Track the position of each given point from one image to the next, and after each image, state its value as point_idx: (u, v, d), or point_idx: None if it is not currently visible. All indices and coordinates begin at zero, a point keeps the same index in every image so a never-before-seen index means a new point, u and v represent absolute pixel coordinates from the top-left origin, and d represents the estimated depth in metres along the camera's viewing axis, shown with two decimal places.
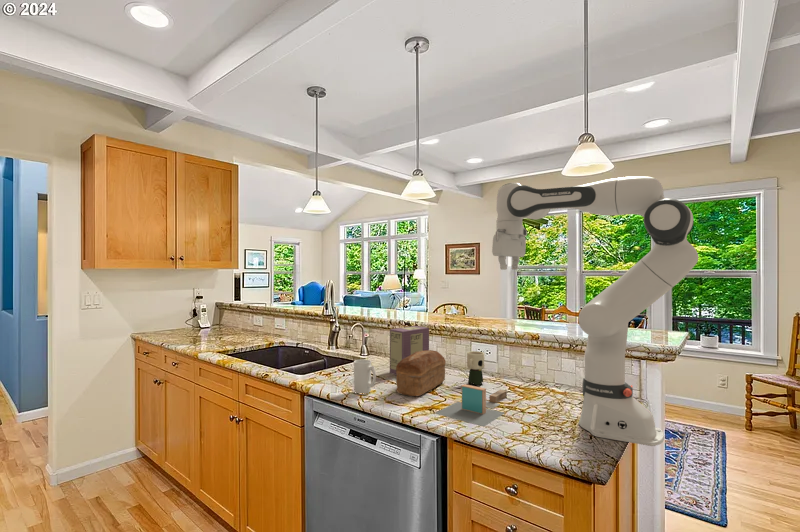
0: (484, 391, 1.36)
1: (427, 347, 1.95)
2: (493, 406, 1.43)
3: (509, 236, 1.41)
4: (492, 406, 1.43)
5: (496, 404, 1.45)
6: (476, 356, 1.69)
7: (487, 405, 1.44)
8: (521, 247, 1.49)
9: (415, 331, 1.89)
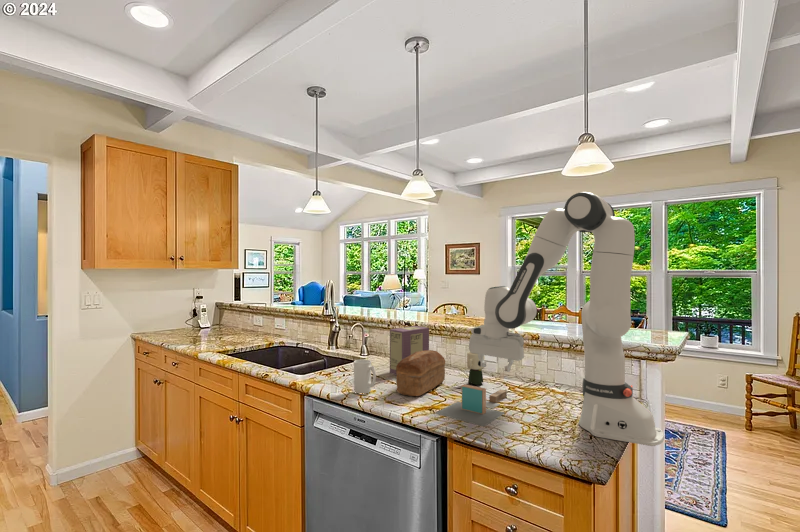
0: (484, 391, 1.36)
1: (427, 347, 1.95)
2: (493, 406, 1.43)
3: None
4: (492, 406, 1.43)
5: (496, 404, 1.45)
6: (476, 356, 1.69)
7: (487, 405, 1.44)
8: None
9: (415, 331, 1.89)
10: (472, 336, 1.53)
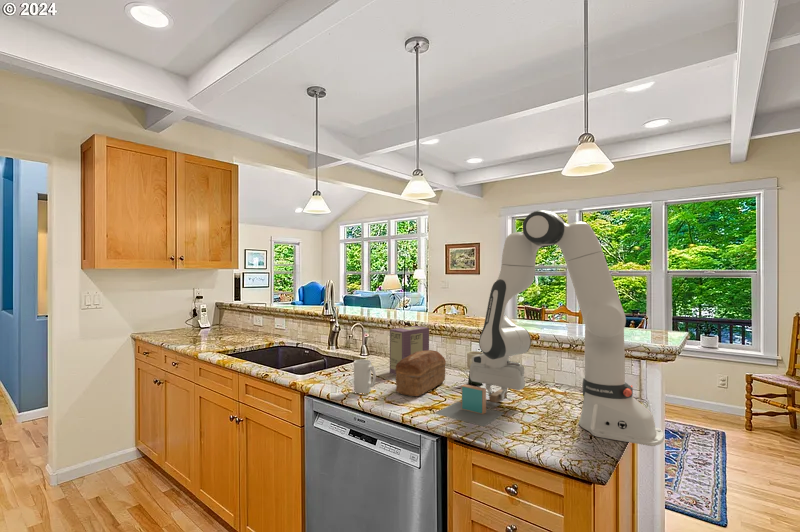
0: (484, 391, 1.36)
1: (427, 347, 1.95)
2: (493, 406, 1.43)
3: None
4: (492, 406, 1.43)
5: (496, 404, 1.45)
6: None
7: (487, 405, 1.44)
8: None
9: (415, 331, 1.89)
10: (472, 365, 1.53)
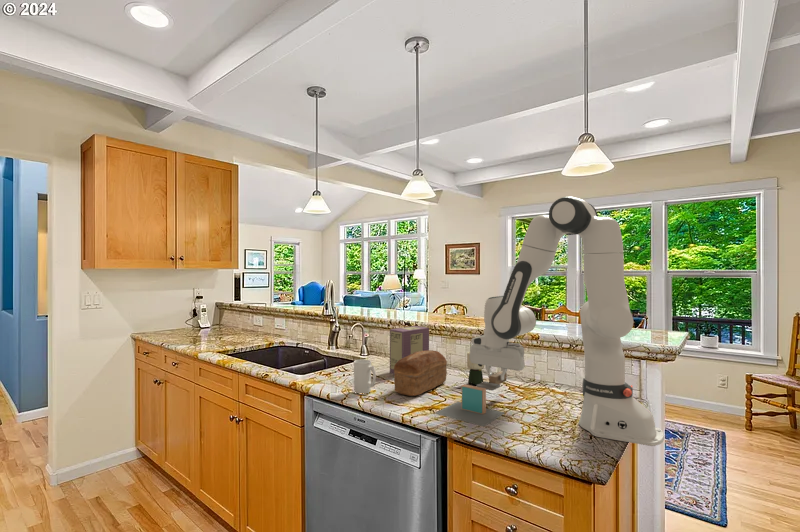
0: (484, 391, 1.36)
1: (427, 347, 1.95)
2: (493, 386, 1.43)
3: None
4: (492, 386, 1.43)
5: (496, 384, 1.45)
6: None
7: (487, 385, 1.44)
8: None
9: (415, 331, 1.89)
10: (472, 346, 1.53)
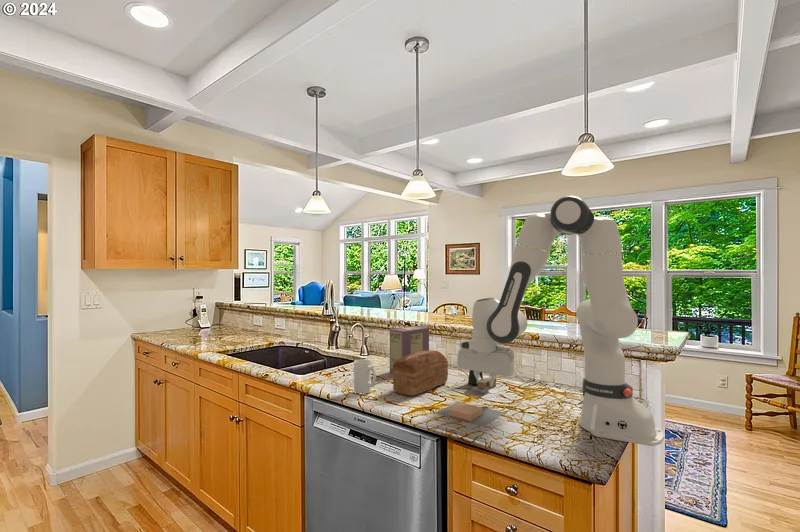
0: (471, 417, 1.29)
1: (427, 347, 1.95)
2: (481, 393, 1.36)
3: None
4: (480, 393, 1.36)
5: (484, 391, 1.38)
6: None
7: (475, 392, 1.37)
8: None
9: (415, 331, 1.89)
10: (460, 351, 1.46)
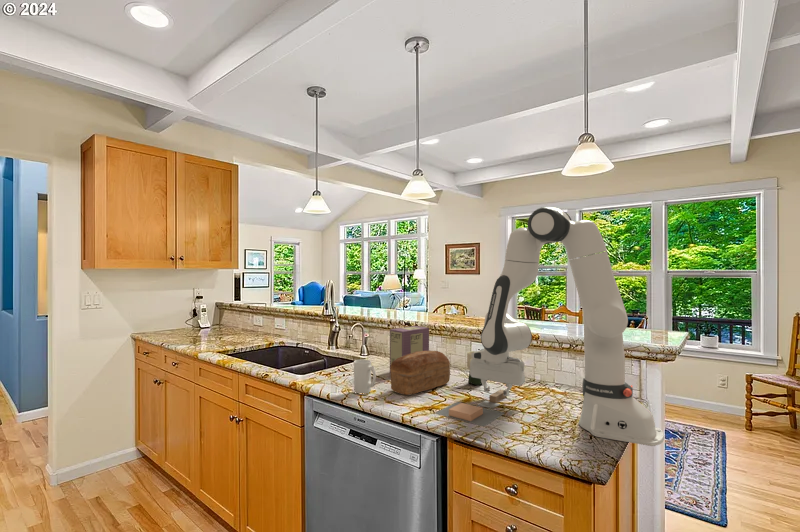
0: (471, 417, 1.29)
1: (427, 347, 1.95)
2: (493, 406, 1.42)
3: None
4: (492, 406, 1.42)
5: (496, 404, 1.45)
6: None
7: (487, 405, 1.43)
8: None
9: (415, 331, 1.89)
10: (472, 361, 1.53)
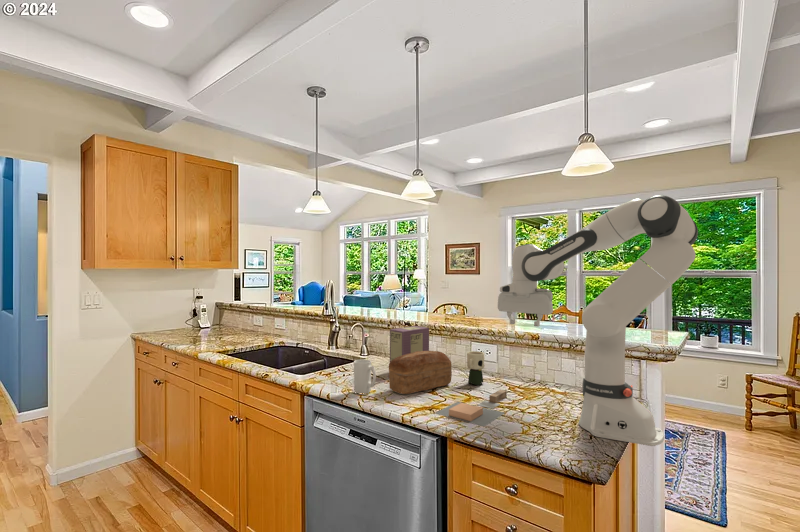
0: (471, 417, 1.29)
1: (427, 347, 1.95)
2: (493, 406, 1.42)
3: None
4: (492, 406, 1.42)
5: (496, 404, 1.45)
6: (476, 356, 1.69)
7: (487, 405, 1.43)
8: None
9: (415, 331, 1.89)
10: (501, 294, 1.57)
